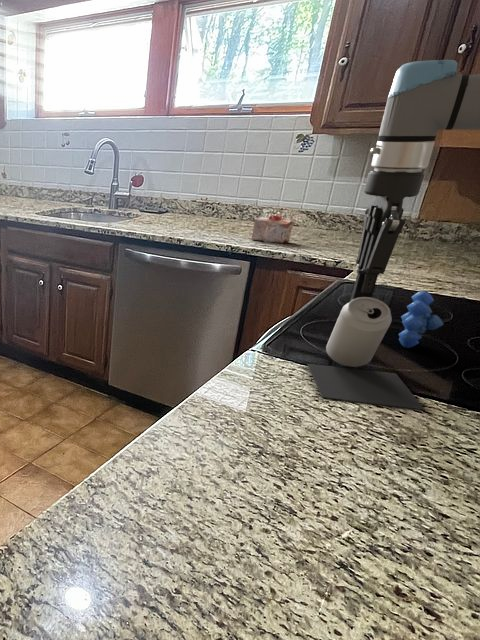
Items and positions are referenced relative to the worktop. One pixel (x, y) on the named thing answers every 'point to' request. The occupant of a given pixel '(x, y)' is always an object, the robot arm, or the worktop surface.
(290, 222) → the food item
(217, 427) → the worktop surface
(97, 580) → the worktop surface
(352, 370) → the mat
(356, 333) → the can
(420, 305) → the grapes
